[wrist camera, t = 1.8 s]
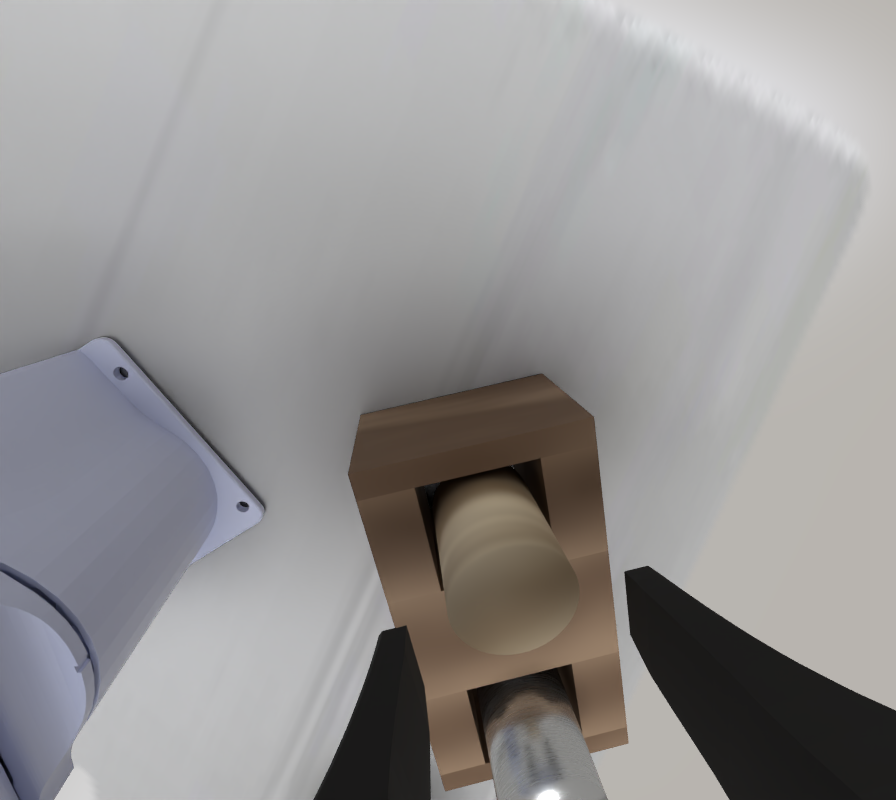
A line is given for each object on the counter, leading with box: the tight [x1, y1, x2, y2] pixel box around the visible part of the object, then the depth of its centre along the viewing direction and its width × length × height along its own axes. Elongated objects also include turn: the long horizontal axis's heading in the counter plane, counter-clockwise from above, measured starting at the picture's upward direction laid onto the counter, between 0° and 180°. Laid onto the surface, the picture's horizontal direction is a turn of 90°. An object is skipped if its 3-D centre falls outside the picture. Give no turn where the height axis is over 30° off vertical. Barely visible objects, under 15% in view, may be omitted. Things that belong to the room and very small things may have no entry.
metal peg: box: [477, 668, 608, 800], centre depth 18 cm, size 4×4×5 cm
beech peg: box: [432, 466, 580, 655], centre depth 15 cm, size 4×4×5 cm
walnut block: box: [348, 374, 628, 791], centre depth 20 cm, size 15×8×6 cm, turn 11°
